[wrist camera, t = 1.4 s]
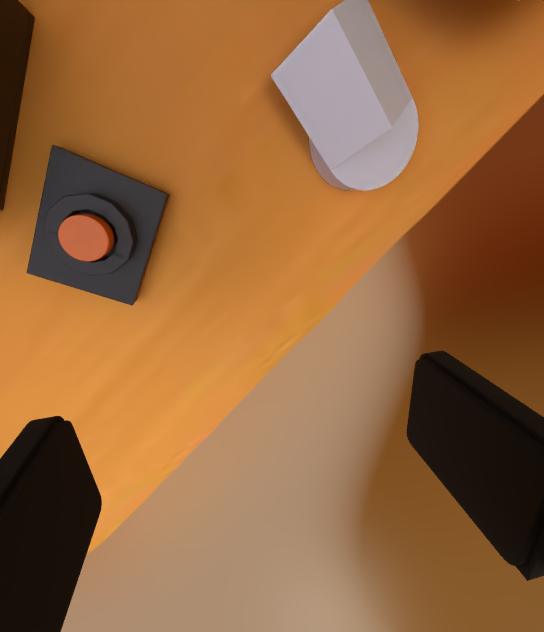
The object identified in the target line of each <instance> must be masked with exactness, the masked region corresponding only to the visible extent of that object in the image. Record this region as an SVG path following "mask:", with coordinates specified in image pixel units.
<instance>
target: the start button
mask: <svg viewBox="0 0 544 632" xmlns="http://www.w3.org/2000/svg"><path fill="white" fill-rule="evenodd" d="M58 237H59V241H60V244H61V246H62V247H63V249H64V250H65V251H66V252H67V253H68V254H69V255H70V256H72V257H74V258H75V259H78V260H81V261H95V260H98V259H100V258H101V257H103V256H105V255H106V254H108V253H109V252H110V251H111V249H112V248H113V245H114V233H113V231H112V229H111V227H110V225H109V224H108V223H107V222H106V221H105V220H104V219H102V218H101V217H99V216H97V215H94V214H88V213H85V214H79V215H73V216H70V217H68V218H66V219H65V220H64V221H63V222H62V223H61V225H60V227H59V231H58Z"/></svg>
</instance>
